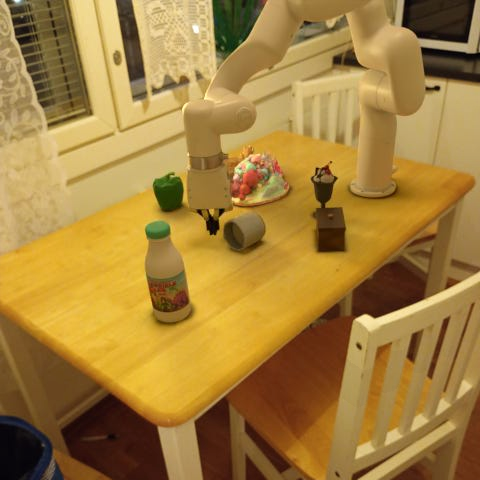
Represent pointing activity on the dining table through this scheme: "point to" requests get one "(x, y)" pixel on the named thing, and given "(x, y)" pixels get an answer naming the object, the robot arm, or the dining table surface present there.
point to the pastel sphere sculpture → (255, 178)
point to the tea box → (330, 229)
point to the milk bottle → (166, 275)
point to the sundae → (323, 184)
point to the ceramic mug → (244, 230)
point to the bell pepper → (168, 191)
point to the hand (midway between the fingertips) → (213, 232)
